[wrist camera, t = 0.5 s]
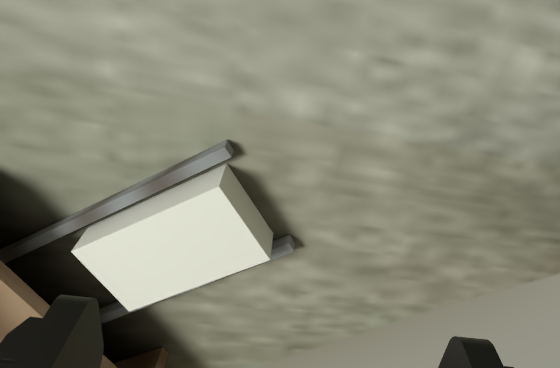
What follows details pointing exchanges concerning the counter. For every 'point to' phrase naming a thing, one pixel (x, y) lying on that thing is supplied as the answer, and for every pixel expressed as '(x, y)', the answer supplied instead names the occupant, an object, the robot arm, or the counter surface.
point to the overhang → (18, 295)
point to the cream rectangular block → (176, 240)
